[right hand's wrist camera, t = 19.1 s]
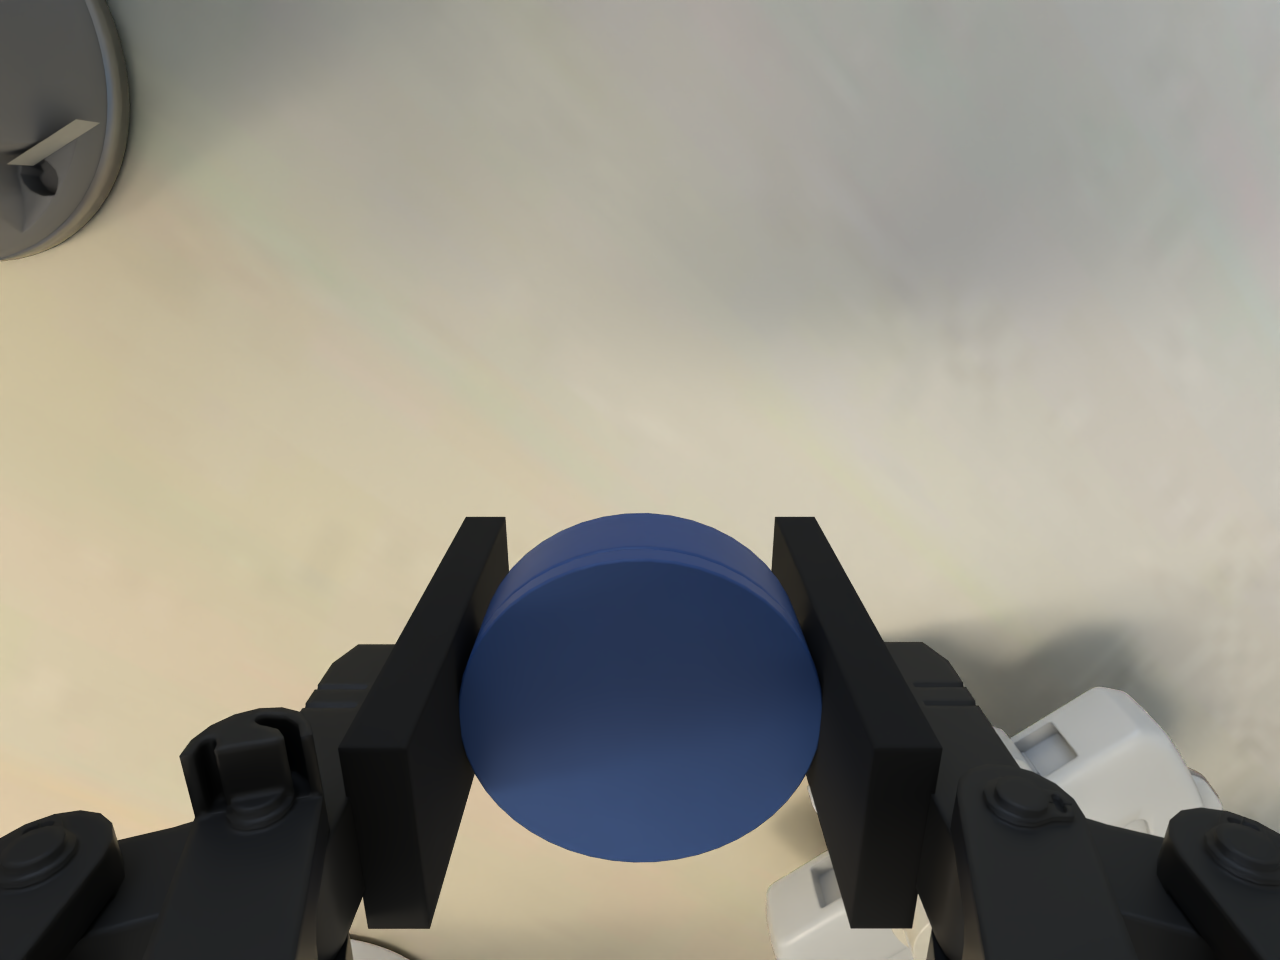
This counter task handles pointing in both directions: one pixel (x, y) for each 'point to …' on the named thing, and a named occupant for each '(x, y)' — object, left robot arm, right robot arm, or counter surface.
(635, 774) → the lid
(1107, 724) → the left robot arm
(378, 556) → the counter surface
